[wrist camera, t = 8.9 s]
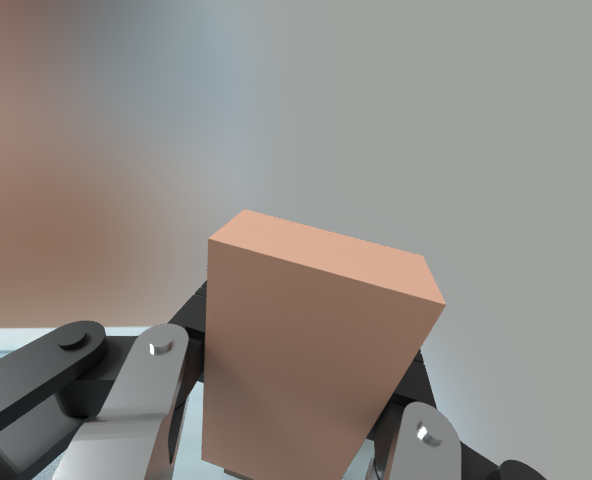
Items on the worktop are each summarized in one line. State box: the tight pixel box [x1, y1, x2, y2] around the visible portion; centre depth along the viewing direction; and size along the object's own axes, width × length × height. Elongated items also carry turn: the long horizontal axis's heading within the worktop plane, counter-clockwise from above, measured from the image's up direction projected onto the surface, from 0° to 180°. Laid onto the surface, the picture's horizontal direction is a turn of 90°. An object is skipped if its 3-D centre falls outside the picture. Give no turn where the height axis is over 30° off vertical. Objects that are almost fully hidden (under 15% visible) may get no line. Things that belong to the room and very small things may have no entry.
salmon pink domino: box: [201, 209, 446, 480], centre depth 8 cm, size 2×5×10 cm, turn 78°
